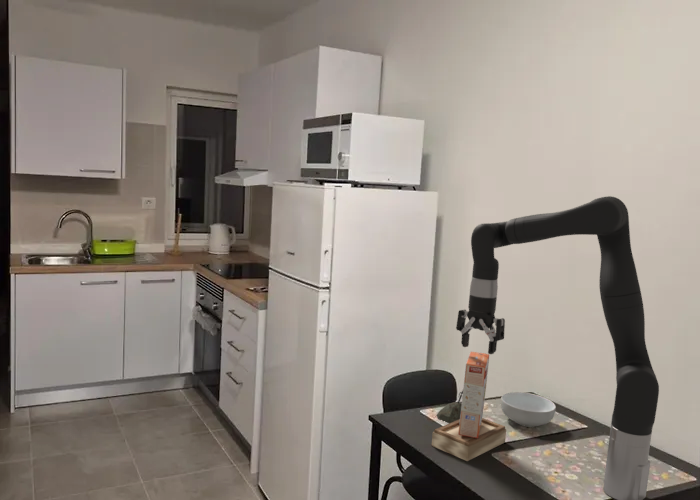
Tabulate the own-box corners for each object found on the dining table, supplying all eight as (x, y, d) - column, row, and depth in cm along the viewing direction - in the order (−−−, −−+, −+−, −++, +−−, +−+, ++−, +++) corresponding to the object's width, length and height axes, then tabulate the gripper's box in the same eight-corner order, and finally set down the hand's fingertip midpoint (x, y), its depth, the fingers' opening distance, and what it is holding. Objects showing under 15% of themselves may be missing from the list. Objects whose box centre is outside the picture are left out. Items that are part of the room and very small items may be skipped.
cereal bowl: (490, 421, 196) (492, 400, 195) (511, 408, 209) (513, 388, 208) (542, 437, 185) (545, 415, 185) (560, 422, 199) (563, 402, 198)
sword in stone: (442, 425, 190) (445, 387, 189) (433, 416, 198) (435, 379, 197) (472, 423, 193) (475, 386, 192) (461, 415, 200) (464, 379, 199)
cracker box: (479, 439, 169) (486, 366, 166) (457, 435, 170) (464, 363, 168) (483, 421, 182) (490, 353, 180) (462, 418, 184) (469, 350, 181)
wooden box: (505, 442, 180) (506, 426, 179) (467, 461, 166) (468, 444, 165) (470, 428, 188) (471, 413, 188) (431, 445, 174) (432, 429, 173)
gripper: (512, 297, 170) (507, 354, 172) (469, 288, 180) (464, 342, 181) (498, 300, 164) (492, 358, 166) (454, 290, 174) (449, 346, 176)
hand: (477, 350), depth 174 cm, fingers open, 8 cm apart
